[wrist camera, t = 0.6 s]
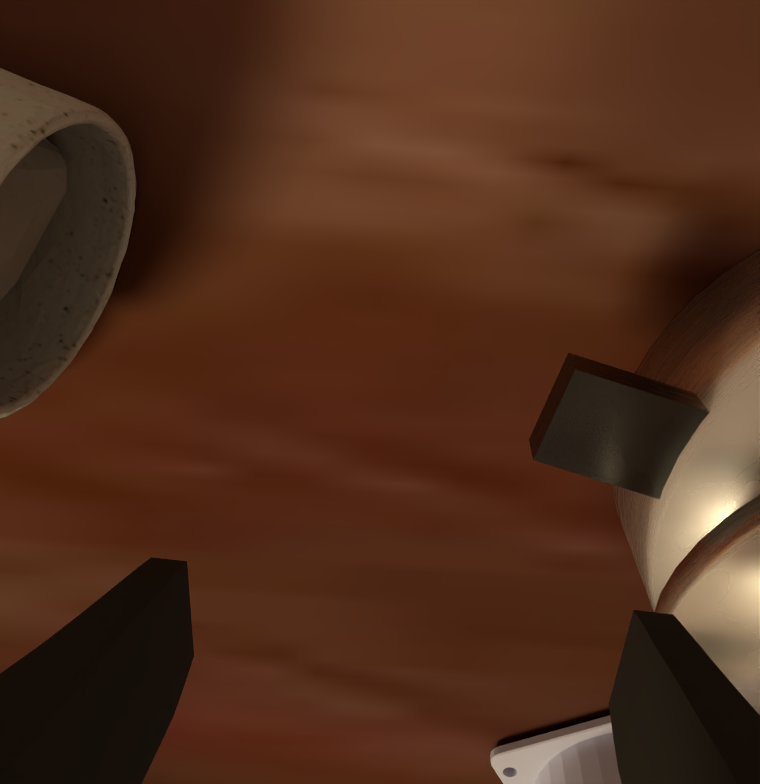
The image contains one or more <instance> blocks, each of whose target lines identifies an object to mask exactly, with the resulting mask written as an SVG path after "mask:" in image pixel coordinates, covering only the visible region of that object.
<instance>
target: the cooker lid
mask: <svg viewBox="0 0 760 784" xmlns="http://www.w3.org/2000/svg"><path fill="white" fill-rule="evenodd" d="M654 612H655V613H665V614H673V615H674V616H675V617H676V618H677V619H678V620H679V622H680V623H681V624H682V625H683V626H684V627H685V629H686V630H687V631H688V632H689V633H690V634H691V636H692V637H693V638H694V639H695V640H696V642H697V643H698V644H699V645H700V646H701V648H702V649H703V650H704V651H705V652H706V653H707V655H708V656H709V657H710V658H711V659H712V661H713V662H714V663H715V664H716V665H717V666H718V668H719V669H720V670H721V671H722V672H723V674H724V675H725V676H726V677H727V678H728V679H729V681H730V682H731V683H732V684H733V685H734V686H735V688H736V689H737V690H738V691H739V692H740V693H741V694H742V696H743V697H744V698H745V699H746V700H747V701H748V702H749V704H750V705H751V706H752V707H753V708H754V709H755V710H756V711H757V712H758V714H759V715H760V495H758V496H757V497H755V498H754V499H752V500H751V501H749V502H748V503H746V504H745V505H743V506H742V507H740V508H739V509H737V510H736V511H734V512H733V513H731V514H730V515H729V516H728V517H727V518H725V519H724V520H723V521H722V522H721V523H720V524H718V525H717V526H716V527H715V528H714V529H713V530H711V531H710V532H709V533H708V534H707V535H706V536H704V537H703V538H702V539H701V540H700V541H699V542H698V543H697V544H696V545H695V546H694V547H693V549H692V550H691V551H690V552H689V553H688V554H687V555H686V557H685V558H684V559H683V560H682V561H681V562H680V563H679V565H678V566H677V567H676V568H675V570H674V571H673V573H672V575H671V576H670V578H669V580H668V581H667V583H666V585H665V586H664V588H663V590H662V591H661V593H660V596H659V599H658V602H657V605H656V608H655V611H654Z"/></svg>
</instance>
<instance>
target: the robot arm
mask: <svg viewBox="0 0 760 784" xmlns="http://www.w3.org/2000/svg"><path fill="white" fill-rule="evenodd" d="M193 657H194V651H193V637H192V623H191V610H190V596H189V583H188V569H187V561H178V560H169V559H160V558H150V559H149V560H147V561H146V562H145V563H143V564H142V565H141V566H140V567H138V568H137V569H136V570H134V571H133V572H132V573H131V574H129V575H128V576H127V577H126V578H124V579H123V580H122V581H121V582H120V583H118V584H117V585H116V586H115V587H113V588H112V589H111V590H110V591H108V592H107V593H106V594H105V595H104V596H102V597H101V598H100V599H99V600H97V601H96V602H95V603H94V604H92V605H91V606H90V607H89V608H87V609H86V610H85V611H84V612H82V613H81V614H80V615H79V616H77V617H76V618H75V619H73V620H72V621H71V622H70V623H68V624H67V625H66V626H64V627H63V628H62V629H61V630H59V631H58V632H57V633H55V634H54V635H53V636H52V637H50V638H49V639H48V640H46V641H45V642H44V643H42V644H41V645H40V646H38V647H37V648H36V649H34V650H33V651H32V652H30V653H29V654H27V655H26V656H25V657H23V658H22V659H20V660H19V661H18V662H16V663H15V664H13V665H12V666H11V667H9V668H8V669H6V670H5V671H4V672H2V673H1V674H0V784H141V783H142V781H143V779H144V777H145V775H146V773H147V771H148V769H149V767H150V765H151V763H152V760H153V758H154V756H155V754H156V752H157V750H158V748H159V746H160V744H161V741H162V739H163V737H164V735H165V733H166V731H167V729H168V727H169V724H170V722H171V720H172V718H173V716H174V713H175V710H176V707H177V704H178V702H179V699H180V696H181V693H182V690H183V687H184V684H185V681H186V678H187V675H188V672H189V669H190V666H191V663H192V660H193ZM609 710H610V715H609V716H605V717H602V718H598V719H595V720H591V721H587V722H584V723H580V724H577V725H573V726H570V727H566V728H562V729H559V730H555V731H552V732H548V733H544V734H541V735H537V736H534V737H530V738H527V739H523V740H519V741H516V742H512V743H509V744H505V745H501V746H498V747H496V748H494V749H493V750H492V751H491V754H490V759H491V765H492V767H493V768H494V770H495V771H496V773H497V774H498V776H499V778H500V779H501V781H502V782H503V784H760V715H759V714H758V712H757V711H756V710H755V709H754V708H753V707H752V706H751V705H750V704H749V702H748V701H747V700H746V699H745V698H744V697H743V696H742V694H741V693H740V692H739V691H738V690H737V689H736V688H735V686H734V685H733V684H732V683H731V682H730V681H729V679H728V678H727V677H726V676H725V675H724V674H723V672H722V671H721V670H720V669H719V668H718V666H717V665H716V664H715V663H714V662H713V661H712V659H711V658H710V657H709V656H708V655H707V653H706V652H705V651H704V650H703V649H702V648H701V646H700V645H699V644H698V643H697V642H696V640H695V639H694V638H693V637H692V636H691V634H690V633H689V632H688V631H687V630H686V629H685V627H684V626H683V625H682V624H681V623H680V622H679V620H678V619H677V618H676V617H675V616H674V615H673V614H665V613H655V612H646V611H637V610H634V611H633V614H632V618H631V622H630V626H629V630H628V633H627V637H626V641H625V645H624V649H623V653H622V656H621V660H620V664H619V668H618V672H617V675H616V679H615V683H614V687H613V691H612V695H611V698H610V702H609ZM508 767H509V768H508Z"/></svg>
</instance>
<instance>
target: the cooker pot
mask: <svg viewBox="0 0 760 784" xmlns="http://www.w3.org/2000/svg"><path fill="white" fill-rule="evenodd" d="M529 441H530V446H531V451H532V456H533V460H535V461H538V462H541V463H545V464H548V465H551V466H554V467H557V468H561V469H564V470H567V471H570V472H573V473H577V474H580V475H583V476H586V477H589V478H592V479H596V480H599V481H602V482H605V483H608V484H611V486H612V491H613V496H614V501H615V506H616V510H617V513H618V516H619V519H620V521H621V524H622V527H623V529H624V532H625V535H626V537H627V540H628V543H629V546H630V548H631V551H632V554H633V556H634V559H635V562H636V565H637V567H638V570H639V573H640V575H641V578H642V581H643V583H644V586H645V589H646V592H647V594H648V597H649V600H650V602H651V605H652V608H653V610H654V611H655V608H656V605H657V602H658V599H659V596H660V593H661V591H662V590H663V588H664V586H665V585H666V583H667V581H668V580H669V578H670V576H671V575H672V573H673V571H674V570H675V568H676V567H677V566H678V565H679V563H680V562H681V561H682V560H683V559H684V558H685V557H686V555H687V554H688V553H689V552H690V551H691V550H692V549H693V547H694V546H695V545H696V544H697V543H698V542H699V541H700V540H701V539H702V538H703V537H704V536H706V535H707V534H708V533H709V532H710V531H711V530H713V529H714V528H715V527H716V526H717V525H718V524H720V523H721V522H722V521H723V520H724V519H725V518H727V517H728V516H729V515H730V514H731V513H733V512H734V511H736V510H737V509H739V508H740V507H742V506H743V505H745V504H746V503H748V502H749V501H751V500H752V499H754V498H755V497H757V496H758V495H760V250H759V251H757V252H755V253H754V254H752V255H751V256H749V257H748V258H746V259H745V260H743V261H741V262H740V263H738V264H737V265H735V266H734V267H732V268H731V269H729V270H728V271H726V272H725V273H723V274H722V275H721V276H720V277H718V278H717V279H716V280H715V281H714V282H712V283H711V284H710V285H709V286H707V287H706V288H705V289H704V290H703V291H701V292H700V293H699V294H698V295H696V296H695V297H694V298H693V299H692V300H691V301H690V302H689V303H688V304H687V305H686V306H685V307H684V309H683V310H682V311H681V312H680V313H679V314H678V315H677V316H676V317H675V318H674V319H673V320H672V321H671V322H670V323H669V324H668V326H667V327H666V328H665V330H664V331H663V332H662V333H661V335H660V336H659V337H658V339H657V340H656V341H655V343H654V344H653V345H652V346H651V348H650V349H649V351H648V352H647V354H646V356H645V357H644V359H643V361H642V362H641V364H640V366H639V368H638V369H637V371H636V373H635V374H634V373H630V372H627V371H624V370H621V369H618V368H615V367H612V366H609V365H605V364H602V363H599V362H596V361H593V360H590V359H587V358H584V357H580V356H577V355H574V354H571V353H568V355H567V357H566V359H565V362H564V364H563V366H562V368H561V370H560V373H559V375H558V377H557V379H556V381H555V384H554V386H553V388H552V390H551V392H550V395H549V397H548V399H547V401H546V403H545V406H544V408H543V410H542V412H541V414H540V417H539V419H538V421H537V423H536V425H535V428H534V430H533V432H532V434H531V436H530V439H529Z"/></svg>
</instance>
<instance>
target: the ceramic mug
mask: <svg viewBox="0 0 760 784" xmlns="http://www.w3.org/2000/svg"><path fill="white" fill-rule="evenodd" d="M135 197H136V176H135V170H134V160H133V153H132V150H131V147H130V144H129V141H128V139H127V137H126V135H125V134H124V132H123V131H122V129H121V128H120V126H119V125H118V124H117V123H116V122H115V121H114V120H113V119H112V118H111V117H110V116H109V115H108V114H106V113H105V112H103V111H102V110H100V109H99V108H97V107H95V106H92V105H90V104H88V103H85V102H83V101H81V100H78V99H76V98H74V97H71V96H69V95H66V94H63V93H61V92H58V91H56V90H53V89H50V88H48V87H45V86H42V85H40V84H37V83H35V82H33V81H30V80H28V79H26V78H23V77H21V76H18V75H16V74H14V73H11V72H9V71H6V70H4V69H2V68H0V418H2V417H6V416H9V415H11V414H13V413H14V412H16V411H18V410H19V409H21V408H23V407H25V406H27V405H29V404H31V403H32V402H33V401H34V400H35V399H36V398H37V397H38V396H39V395H40V394H41V393H42V392H43V391H44V390H46V389H47V388H48V387H49V386H50V385H51V384H52V383H53V382H54V381H55V380H56V379H57V378H58V376H59V375H60V374H61V373H62V372H63V371H64V370H65V369H66V368H67V367H68V366H69V364H70V363H71V361H72V360H73V359H74V357H75V356H76V354H77V353H78V351H79V350H80V348H81V346H82V345H83V344H84V342H85V341H86V339H87V338H88V336H89V335H90V333H91V332H92V330H93V328H94V326H95V323H96V322H97V320H98V319H99V317H100V315H101V313H102V311H103V309H104V307H105V305H106V303H107V302H108V300H109V297H110V295H111V293H112V291H113V287H114V284H115V281H116V278H117V275H118V272H119V269H120V266H121V263H122V260H123V258H124V256H125V253H126V250H127V247H128V241H129V236H130V232H131V227H132V222H133V215H134V212H135Z"/></svg>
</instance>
